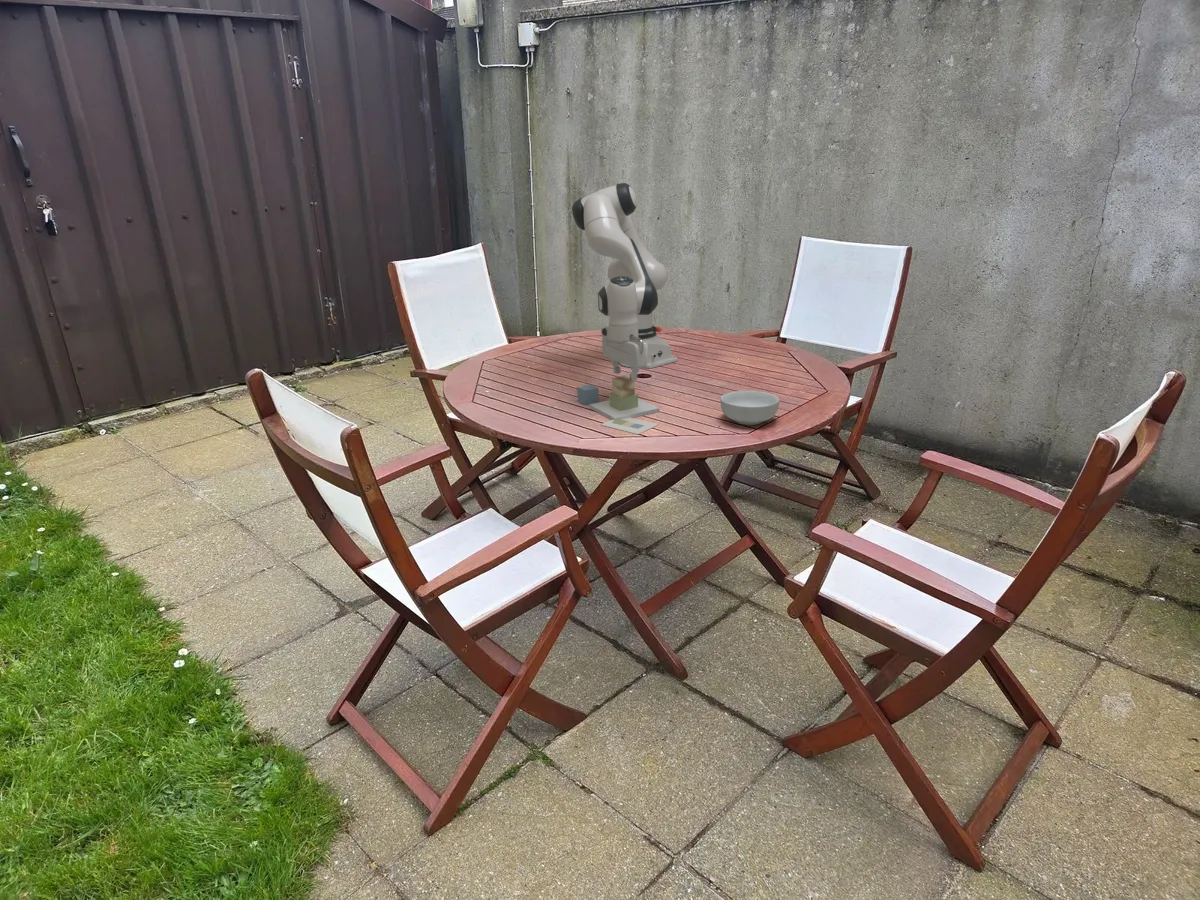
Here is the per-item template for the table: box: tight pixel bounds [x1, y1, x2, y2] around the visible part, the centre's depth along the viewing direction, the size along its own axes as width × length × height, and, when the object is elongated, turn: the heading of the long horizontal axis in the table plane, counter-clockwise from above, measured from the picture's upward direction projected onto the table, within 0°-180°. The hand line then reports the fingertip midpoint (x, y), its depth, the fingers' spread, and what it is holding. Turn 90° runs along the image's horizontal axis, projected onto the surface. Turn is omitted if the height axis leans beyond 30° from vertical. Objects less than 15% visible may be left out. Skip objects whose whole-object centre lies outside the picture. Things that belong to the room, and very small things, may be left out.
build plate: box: [588, 392, 660, 421], centre depth 233 cm, size 16×16×5 cm
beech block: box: [611, 375, 636, 397], centre depth 231 cm, size 5×5×5 cm
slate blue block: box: [577, 383, 600, 406], centre depth 242 cm, size 5×5×5 cm
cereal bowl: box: [720, 390, 780, 426], centre depth 219 cm, size 17×17×7 cm
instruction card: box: [600, 417, 659, 435], centre depth 220 cm, size 10×14×1 cm
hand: (625, 376), depth 230 cm, fingers open, 8 cm apart
